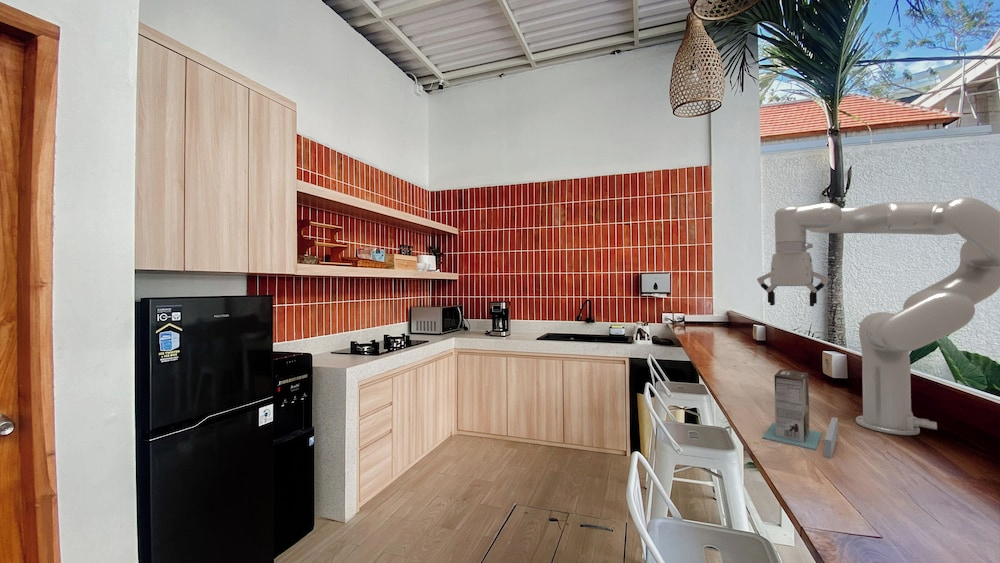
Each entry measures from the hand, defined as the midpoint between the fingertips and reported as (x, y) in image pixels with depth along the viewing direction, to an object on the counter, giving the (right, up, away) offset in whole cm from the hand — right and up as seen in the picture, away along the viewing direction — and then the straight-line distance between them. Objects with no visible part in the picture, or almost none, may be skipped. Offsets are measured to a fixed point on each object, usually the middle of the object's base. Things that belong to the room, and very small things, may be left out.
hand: (791, 305), depth 119 cm
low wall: (-5, -33, -20) cm, 39 cm away
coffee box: (-10, -33, -14) cm, 38 cm away
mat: (-10, -33, -14) cm, 38 cm away
